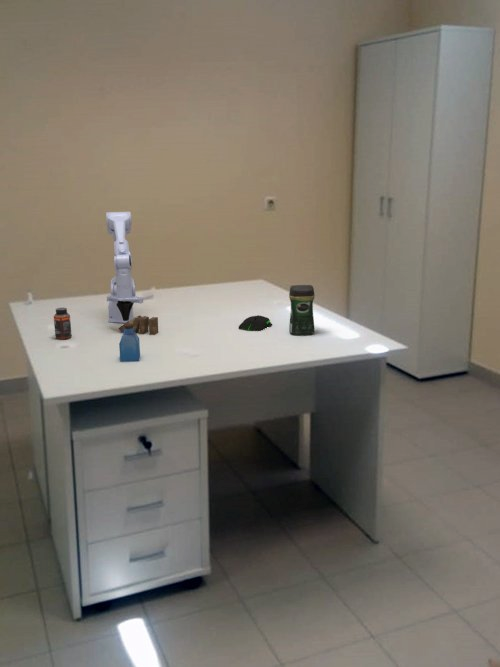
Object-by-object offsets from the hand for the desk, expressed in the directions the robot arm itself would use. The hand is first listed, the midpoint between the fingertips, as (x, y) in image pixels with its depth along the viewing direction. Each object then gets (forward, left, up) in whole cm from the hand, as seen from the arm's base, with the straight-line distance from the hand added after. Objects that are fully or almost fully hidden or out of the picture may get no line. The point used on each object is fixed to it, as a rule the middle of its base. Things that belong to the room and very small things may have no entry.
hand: (126, 320), depth 276 cm
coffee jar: (+65, +16, -5) cm, 68 cm away
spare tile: (-2, 0, -4) cm, 4 cm away
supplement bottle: (-19, -15, -5) cm, 24 cm away
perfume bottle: (+17, -32, -5) cm, 37 cm away
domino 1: (+3, 0, -4) cm, 5 cm away
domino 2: (+7, 0, -4) cm, 8 cm away
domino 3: (+11, 0, -4) cm, 12 cm away
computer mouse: (+46, +22, -5) cm, 51 cm away
